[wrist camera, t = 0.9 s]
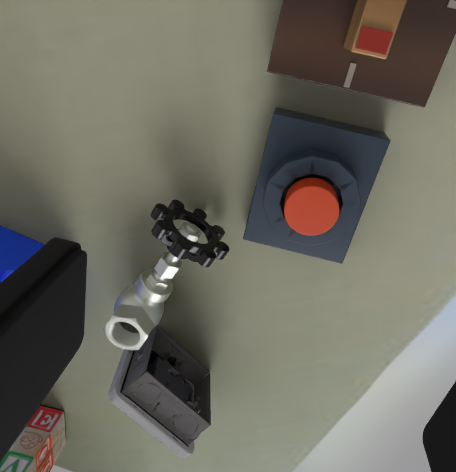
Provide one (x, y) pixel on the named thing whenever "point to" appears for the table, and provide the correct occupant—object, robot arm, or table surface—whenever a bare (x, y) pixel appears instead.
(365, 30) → the oak handle
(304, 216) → the red button
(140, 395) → the electrical switch
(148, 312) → the valve
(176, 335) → the table surface
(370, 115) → the table surface
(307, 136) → the button box
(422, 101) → the handle panel
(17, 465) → the stack of blocks
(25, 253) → the bracket
